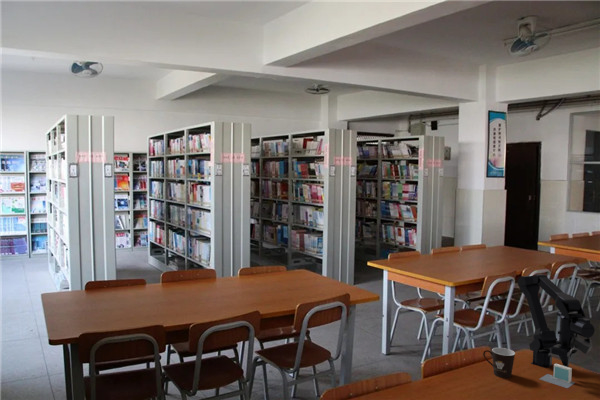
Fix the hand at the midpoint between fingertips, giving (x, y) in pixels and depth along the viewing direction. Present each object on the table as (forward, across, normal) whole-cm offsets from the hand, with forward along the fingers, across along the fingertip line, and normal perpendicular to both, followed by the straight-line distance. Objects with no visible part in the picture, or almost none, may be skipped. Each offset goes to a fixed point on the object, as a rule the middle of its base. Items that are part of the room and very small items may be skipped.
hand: (566, 367), depth 190 cm
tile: (+4, -3, 0) cm, 5 cm away
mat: (+4, -6, +1) cm, 7 cm away
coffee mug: (+5, -17, +19) cm, 26 cm away
